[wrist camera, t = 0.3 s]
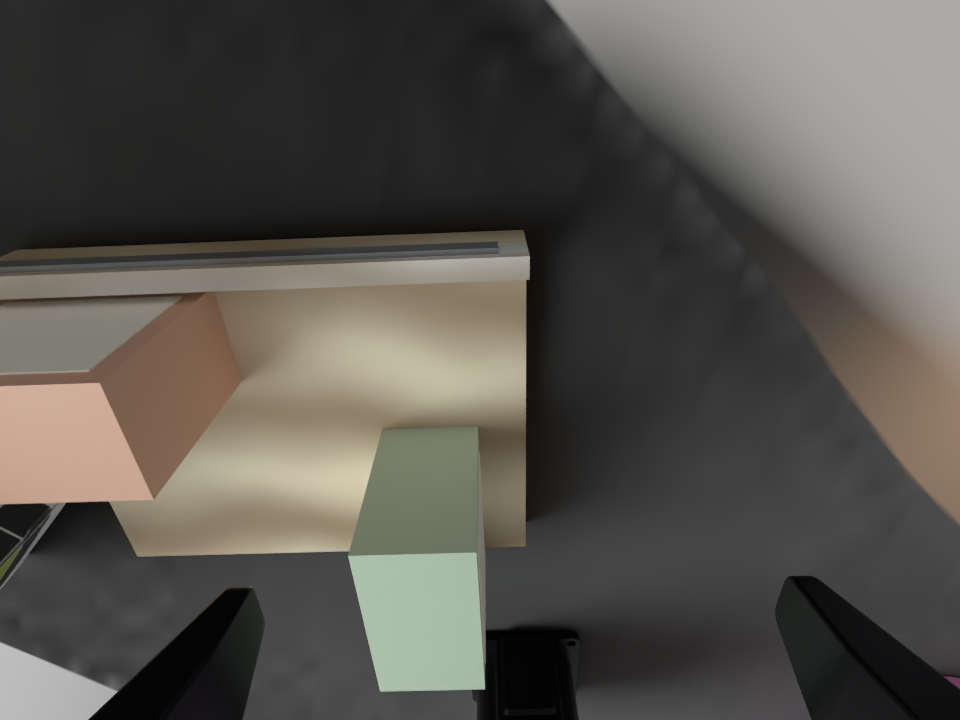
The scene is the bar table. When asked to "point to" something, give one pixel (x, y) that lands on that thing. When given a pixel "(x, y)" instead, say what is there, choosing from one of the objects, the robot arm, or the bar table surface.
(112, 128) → the bar table surface
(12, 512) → the tea box
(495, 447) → the shelf board
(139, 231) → the bar table surface
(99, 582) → the bar table surface
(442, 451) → the sage carton
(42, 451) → the pink box
